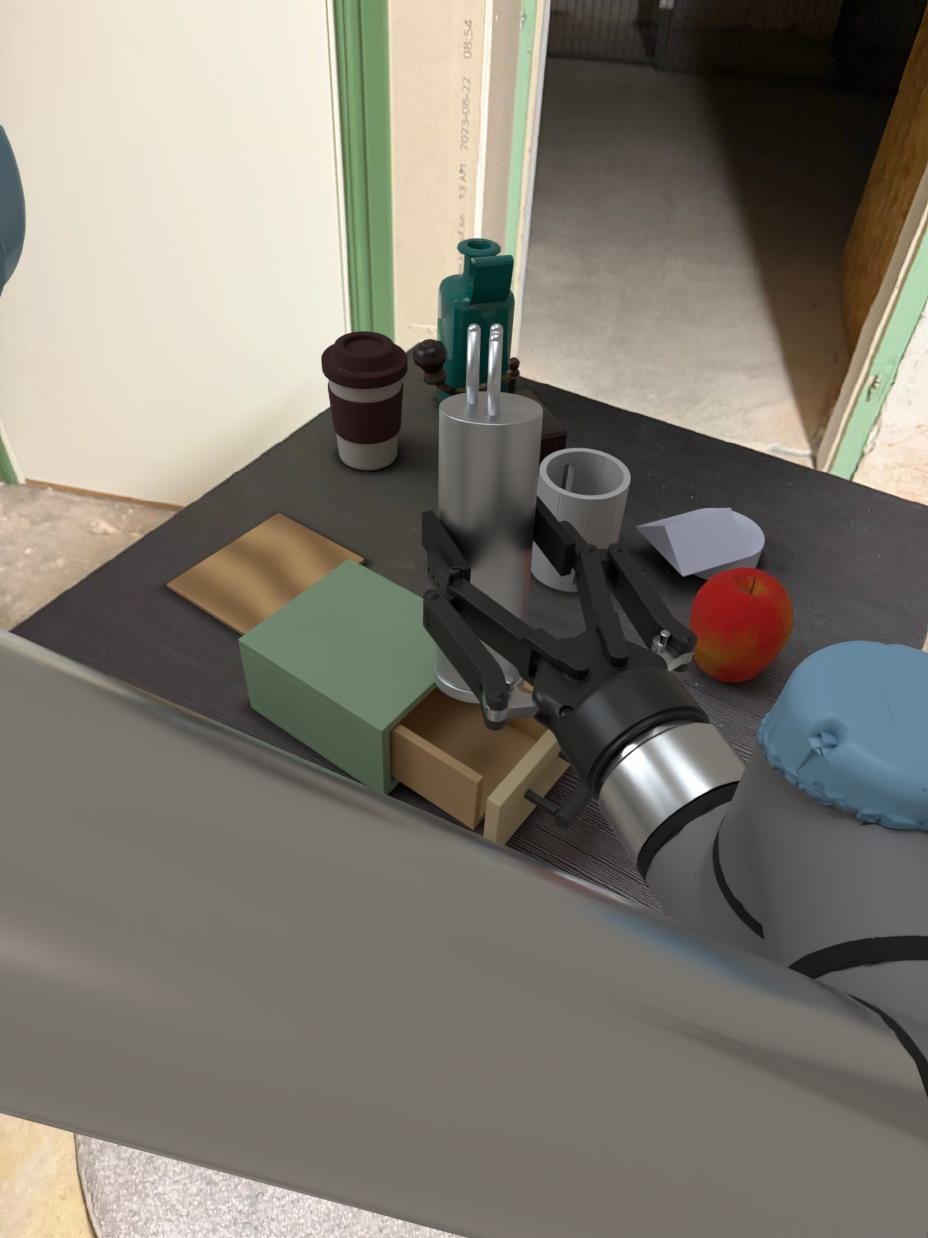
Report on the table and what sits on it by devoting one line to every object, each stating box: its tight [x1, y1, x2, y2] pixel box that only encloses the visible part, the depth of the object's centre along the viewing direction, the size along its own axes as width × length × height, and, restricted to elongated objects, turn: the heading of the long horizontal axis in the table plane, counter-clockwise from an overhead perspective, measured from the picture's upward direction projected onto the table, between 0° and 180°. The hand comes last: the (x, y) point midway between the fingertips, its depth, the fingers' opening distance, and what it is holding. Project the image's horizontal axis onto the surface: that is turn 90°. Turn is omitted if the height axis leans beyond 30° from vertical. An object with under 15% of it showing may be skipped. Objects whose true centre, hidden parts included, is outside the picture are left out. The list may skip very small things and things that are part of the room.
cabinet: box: [237, 559, 437, 796], centre depth 76 cm, size 16×14×9 cm
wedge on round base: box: [635, 507, 766, 581], centre depth 94 cm, size 9×7×13 cm
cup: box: [531, 447, 632, 593], centre depth 91 cm, size 9×9×12 cm
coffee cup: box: [320, 330, 409, 471], centre depth 104 cm, size 10×10×15 cm
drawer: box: [389, 681, 593, 846], centre depth 71 cm, size 19×13×7 cm
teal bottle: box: [435, 237, 516, 405], centre depth 111 cm, size 10×8×22 cm
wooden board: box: [166, 512, 366, 637], centre depth 92 cm, size 16×13×1 cm
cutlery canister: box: [434, 323, 543, 704], centre depth 59 cm, size 7×7×26 cm
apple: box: [688, 567, 795, 683], centre depth 80 cm, size 9×9×12 cm
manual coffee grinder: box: [412, 338, 568, 485], centre depth 99 cm, size 16×11×18 cm
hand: (477, 516), depth 61 cm, fingers closed on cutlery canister, 7 cm apart
